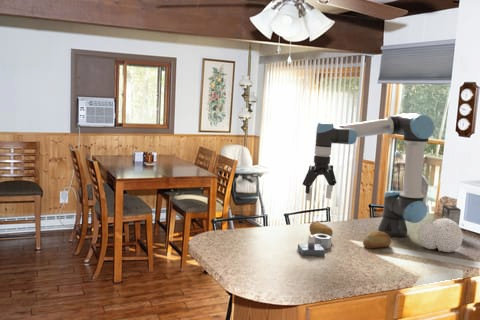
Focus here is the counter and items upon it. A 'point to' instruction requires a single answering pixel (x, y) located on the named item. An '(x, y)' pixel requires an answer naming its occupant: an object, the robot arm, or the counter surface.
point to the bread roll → (376, 239)
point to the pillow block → (311, 248)
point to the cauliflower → (441, 235)
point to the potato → (320, 229)
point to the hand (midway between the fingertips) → (318, 199)
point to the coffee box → (451, 213)
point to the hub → (323, 240)
